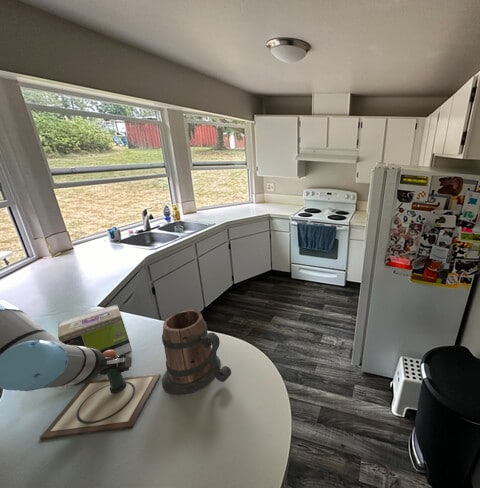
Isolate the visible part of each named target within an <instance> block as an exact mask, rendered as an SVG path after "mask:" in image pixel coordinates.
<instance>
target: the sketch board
mask: <svg viewBox="0 0 480 488" xmlns="http://www.w3.org/2000/svg"><path fill="white" fill-rule="evenodd" d="M160 378H161V373H156V374H147V375H137V376H128V377H123V380H125V381H126V384H127V386H126V388H125V389H124V390H122V391H121V392H119V393H116V394H112V393H111V392H110V387H111V385H110V382H109V379H108V378H106V379H98V380H91V381H90V382H88V383H85V384H83V386H82V387H81V388H80V389H79V390H78V392H76V394H75V395H74V396H73V398H72V399H71V400H70V401H69V402H68V403H67V404H66V405H65V407H63V409H62V410H61V412H60V413H59V414H58V415H57V416H56V417H55V418H54V420H53V421H52V422H51V424H50V425H49V426H48V427H47V428H46V429H45V430H44V431H43V433H42V434H41V435H40V436H39V440H41V441H44V440H50V439H58V438H65V437H71V436H80V435H88V434H95V433H103V432H110V431H116V430H117V431H119V430H125V429H132V428H134V426H135V425H136V423H137V420H138V419H139V417H140V415H141V413H142V412H143V409H144V408H145V406H146V404H147V403H148V400H149V399H150V397H151V394H152V393H153V391H154V389H155V387H156V385H157V383H158V382H159V380H160Z"/></svg>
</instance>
